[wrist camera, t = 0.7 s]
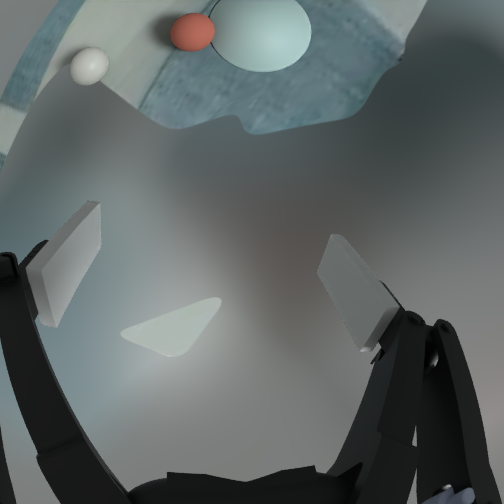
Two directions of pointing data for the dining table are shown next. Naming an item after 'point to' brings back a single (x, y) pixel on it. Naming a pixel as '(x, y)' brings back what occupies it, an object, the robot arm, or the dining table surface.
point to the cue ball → (89, 65)
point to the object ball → (192, 32)
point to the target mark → (260, 33)
